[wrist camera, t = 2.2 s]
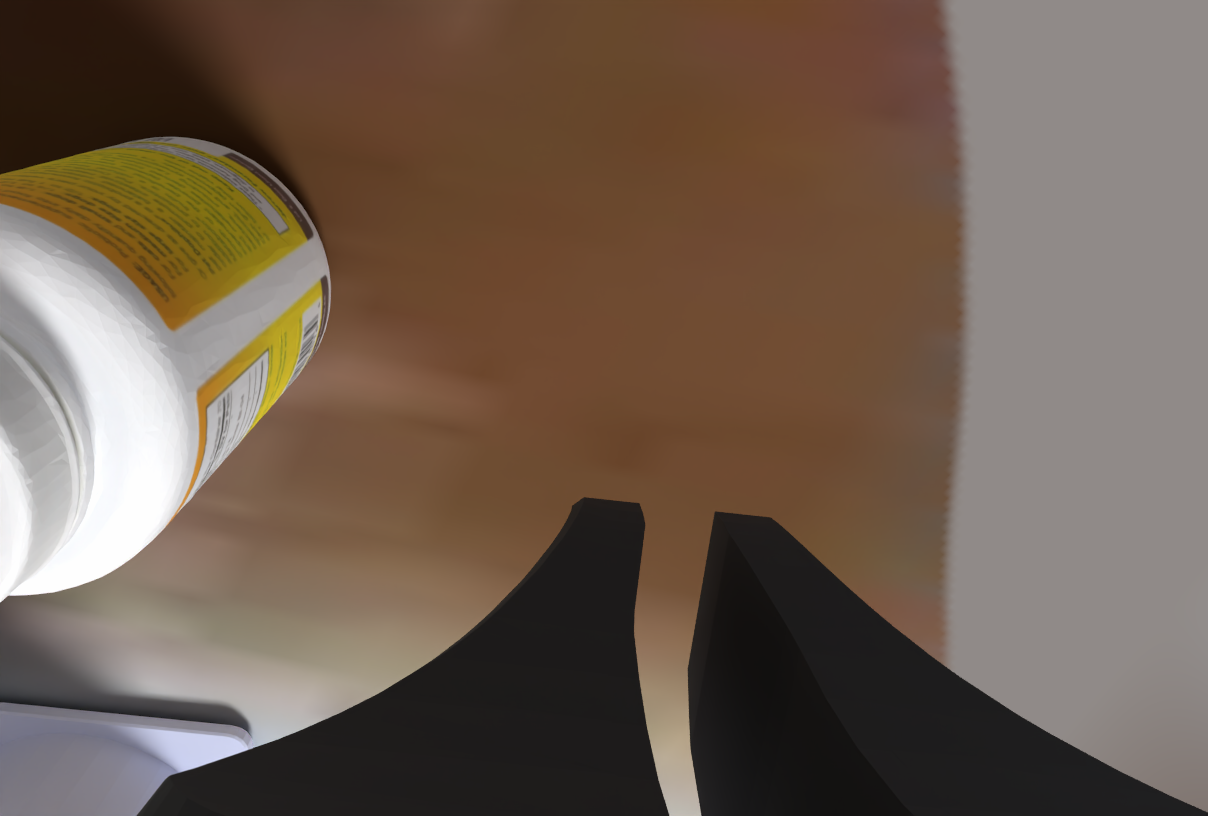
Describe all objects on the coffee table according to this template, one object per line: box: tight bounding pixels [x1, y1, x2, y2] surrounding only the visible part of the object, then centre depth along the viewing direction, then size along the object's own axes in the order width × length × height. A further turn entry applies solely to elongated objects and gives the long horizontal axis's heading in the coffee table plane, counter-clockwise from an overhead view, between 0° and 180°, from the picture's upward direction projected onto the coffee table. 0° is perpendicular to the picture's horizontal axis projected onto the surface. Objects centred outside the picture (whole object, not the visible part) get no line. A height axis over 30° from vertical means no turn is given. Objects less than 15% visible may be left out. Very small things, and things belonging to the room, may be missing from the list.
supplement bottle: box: [0, 137, 331, 602], centre depth 16 cm, size 6×6×10 cm
